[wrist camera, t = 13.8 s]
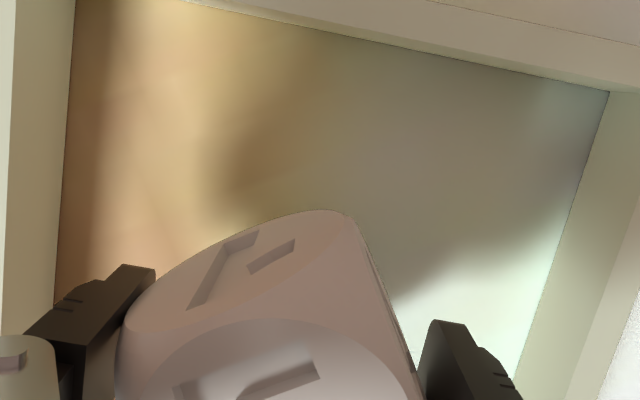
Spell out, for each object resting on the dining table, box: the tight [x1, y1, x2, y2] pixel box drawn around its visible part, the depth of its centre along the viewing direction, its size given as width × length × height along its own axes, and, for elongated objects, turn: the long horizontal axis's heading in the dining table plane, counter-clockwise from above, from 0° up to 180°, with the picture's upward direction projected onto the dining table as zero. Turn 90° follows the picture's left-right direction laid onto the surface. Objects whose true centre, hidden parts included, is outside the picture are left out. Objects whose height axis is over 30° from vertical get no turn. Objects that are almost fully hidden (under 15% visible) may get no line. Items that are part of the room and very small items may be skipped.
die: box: [114, 210, 427, 400], centre depth 11 cm, size 5×5×5 cm
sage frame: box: [0, 0, 640, 400], centre depth 13 cm, size 16×16×2 cm
